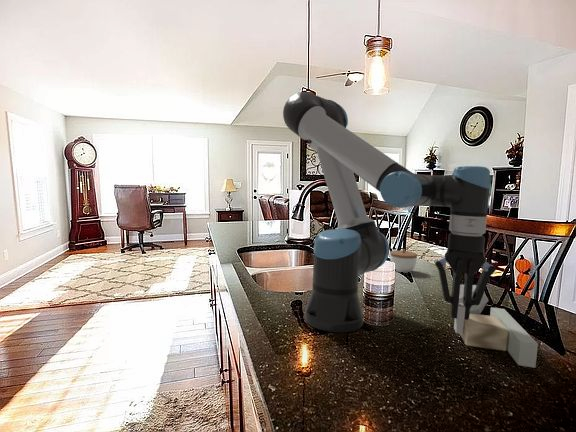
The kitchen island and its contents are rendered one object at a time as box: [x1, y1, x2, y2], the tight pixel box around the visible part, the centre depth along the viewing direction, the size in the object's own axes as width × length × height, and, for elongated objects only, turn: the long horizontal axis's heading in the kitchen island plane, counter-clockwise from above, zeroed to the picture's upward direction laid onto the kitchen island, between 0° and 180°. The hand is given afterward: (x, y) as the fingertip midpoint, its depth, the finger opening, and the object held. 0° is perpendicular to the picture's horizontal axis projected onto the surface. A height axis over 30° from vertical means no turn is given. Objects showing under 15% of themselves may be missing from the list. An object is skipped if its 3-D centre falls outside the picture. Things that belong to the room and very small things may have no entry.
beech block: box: [459, 314, 508, 352], centre depth 78 cm, size 8×8×5 cm
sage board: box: [489, 307, 539, 368], centre depth 76 cm, size 3×20×5 cm, turn 163°
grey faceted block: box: [459, 284, 490, 315], centre depth 96 cm, size 8×9×10 cm
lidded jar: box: [389, 248, 418, 274], centre depth 141 cm, size 11×11×9 cm
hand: (458, 331), depth 80 cm, fingers closed
